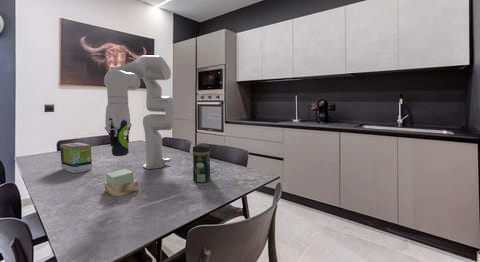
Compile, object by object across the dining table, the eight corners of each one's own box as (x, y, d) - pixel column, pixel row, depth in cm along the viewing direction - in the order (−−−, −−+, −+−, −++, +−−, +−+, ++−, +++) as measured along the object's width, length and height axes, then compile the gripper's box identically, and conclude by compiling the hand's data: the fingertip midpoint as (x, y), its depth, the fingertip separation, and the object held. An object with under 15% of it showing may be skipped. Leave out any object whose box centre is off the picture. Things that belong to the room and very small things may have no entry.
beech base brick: (130, 185, 108) (129, 175, 107) (139, 191, 101) (138, 180, 100) (105, 193, 101) (104, 182, 100) (114, 199, 94) (112, 188, 93)
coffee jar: (196, 177, 122) (196, 141, 120) (211, 177, 121) (211, 142, 119) (191, 183, 112) (190, 145, 110) (207, 183, 112) (207, 145, 110)
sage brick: (126, 177, 106) (125, 168, 105) (134, 181, 100) (132, 172, 100) (107, 182, 100) (106, 173, 99) (114, 187, 95) (112, 177, 94)
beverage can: (109, 155, 98) (107, 119, 97) (124, 152, 103) (122, 118, 102) (116, 157, 95) (114, 120, 93) (131, 154, 100) (129, 119, 98)
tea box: (93, 169, 134) (91, 144, 132) (73, 173, 125) (71, 146, 124) (80, 165, 142) (78, 141, 140) (60, 169, 134) (59, 143, 132)
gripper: (123, 101, 106) (124, 141, 108) (94, 101, 89) (96, 147, 91) (138, 101, 105) (139, 141, 106) (112, 101, 88) (114, 148, 89)
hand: (120, 144), depth 98 cm, fingers closed on beverage can, 6 cm apart
